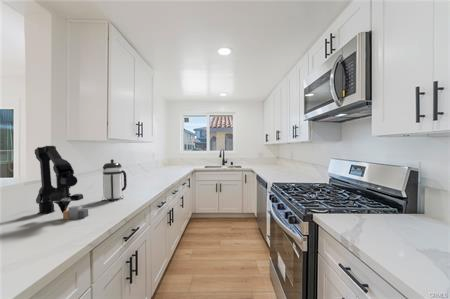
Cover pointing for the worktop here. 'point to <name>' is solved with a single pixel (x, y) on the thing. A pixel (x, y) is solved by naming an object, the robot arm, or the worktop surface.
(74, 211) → the steel block
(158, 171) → the worktop surface
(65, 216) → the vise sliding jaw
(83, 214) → the block
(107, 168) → the coffee press
